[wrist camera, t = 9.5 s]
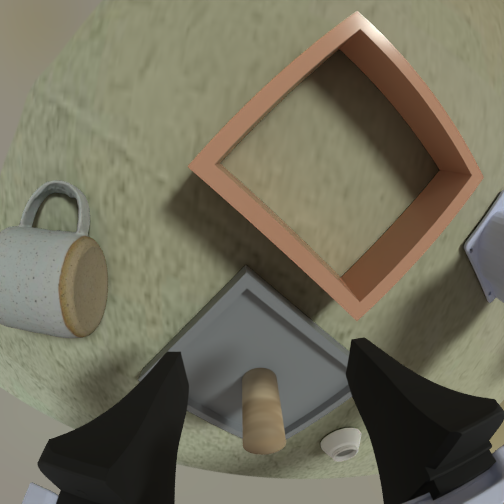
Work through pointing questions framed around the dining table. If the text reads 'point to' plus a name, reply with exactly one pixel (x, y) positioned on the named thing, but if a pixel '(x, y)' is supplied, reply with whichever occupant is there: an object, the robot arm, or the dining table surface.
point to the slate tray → (258, 356)
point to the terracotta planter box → (413, 218)
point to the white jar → (342, 443)
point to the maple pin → (261, 412)
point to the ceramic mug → (52, 272)
